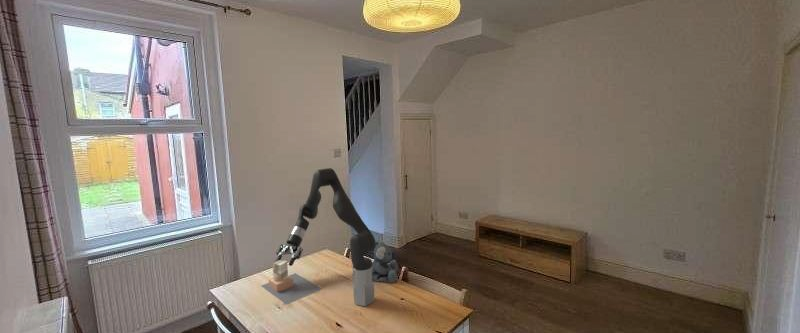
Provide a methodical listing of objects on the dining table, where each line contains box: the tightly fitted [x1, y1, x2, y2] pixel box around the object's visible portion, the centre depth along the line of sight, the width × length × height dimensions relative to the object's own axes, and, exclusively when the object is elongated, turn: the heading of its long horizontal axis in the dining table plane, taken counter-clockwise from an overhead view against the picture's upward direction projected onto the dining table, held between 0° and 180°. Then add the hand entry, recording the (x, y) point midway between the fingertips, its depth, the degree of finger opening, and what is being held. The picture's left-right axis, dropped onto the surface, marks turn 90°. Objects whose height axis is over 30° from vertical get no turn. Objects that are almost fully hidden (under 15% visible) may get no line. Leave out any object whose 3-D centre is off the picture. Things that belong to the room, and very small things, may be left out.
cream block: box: [272, 259, 289, 282], centre depth 166 cm, size 5×5×9 cm
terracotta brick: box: [268, 275, 294, 292], centre depth 167 cm, size 9×9×4 cm
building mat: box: [260, 273, 323, 305], centre depth 166 cm, size 28×20×1 cm
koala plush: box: [372, 240, 399, 283], centre depth 177 cm, size 17×18×20 cm
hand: (283, 264), depth 168 cm, fingers open, 8 cm apart
